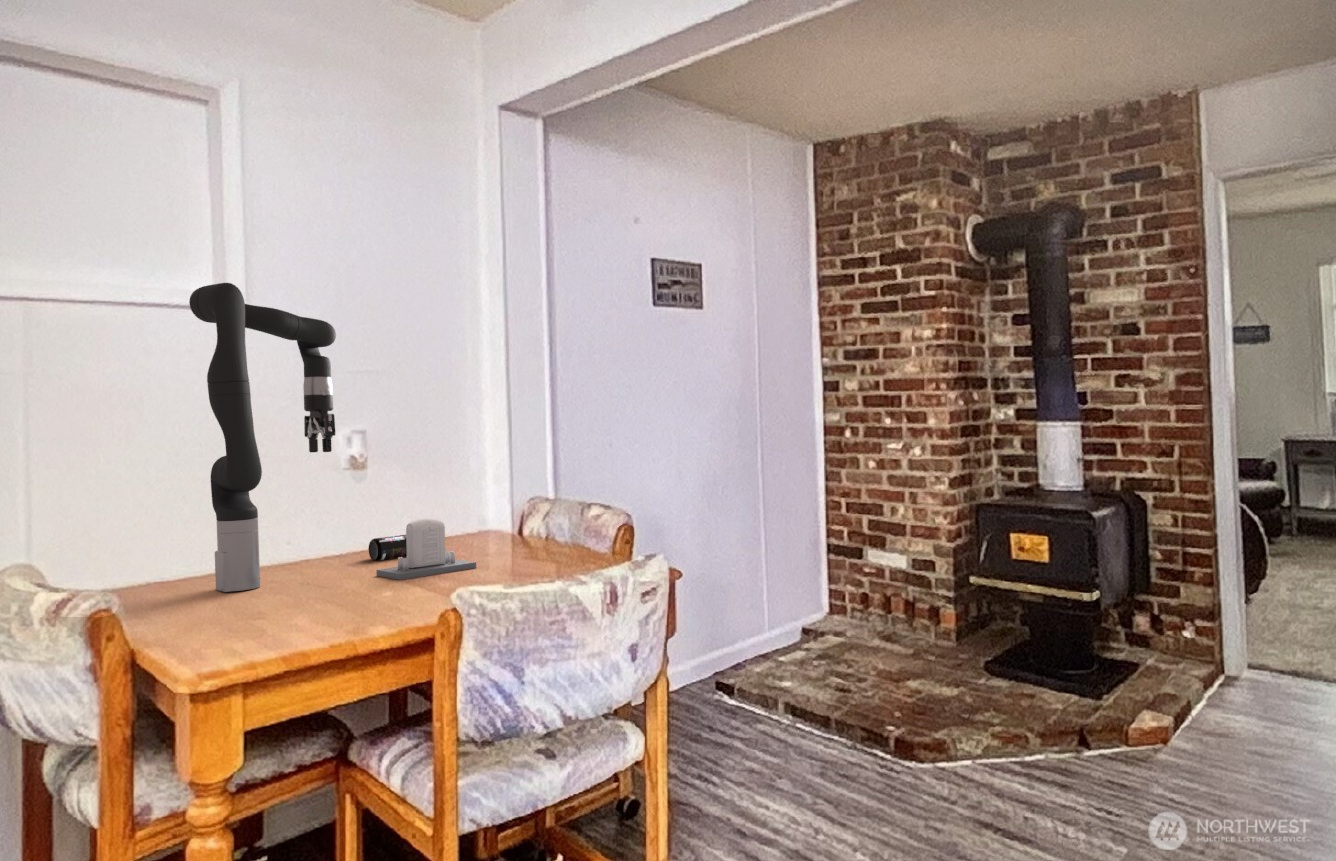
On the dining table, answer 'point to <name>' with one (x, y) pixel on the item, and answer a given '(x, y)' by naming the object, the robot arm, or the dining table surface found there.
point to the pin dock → (425, 568)
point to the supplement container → (387, 547)
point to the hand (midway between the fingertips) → (320, 452)
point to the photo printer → (425, 543)
